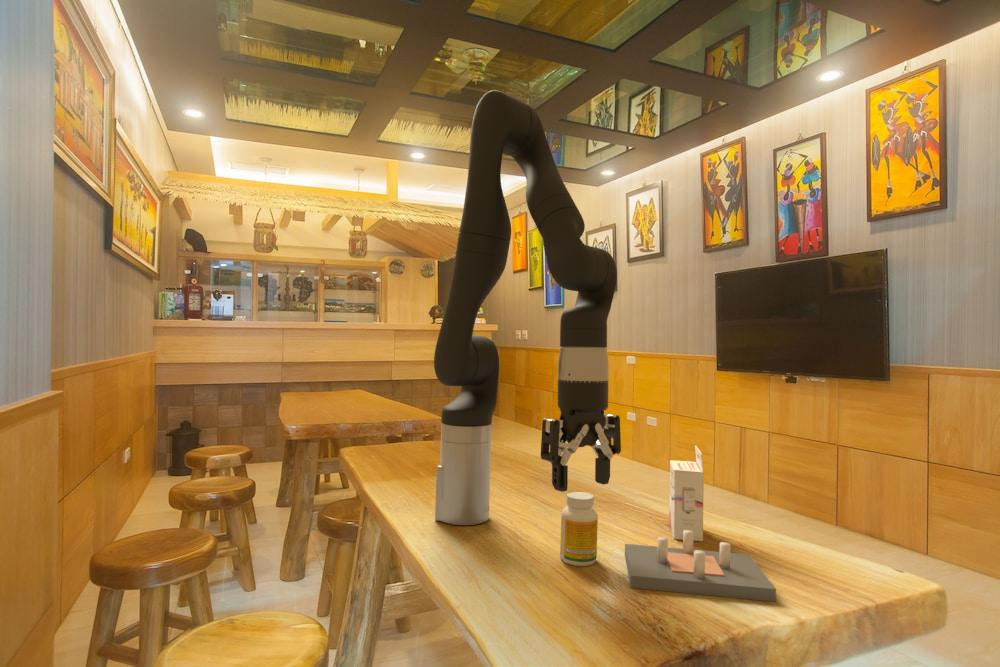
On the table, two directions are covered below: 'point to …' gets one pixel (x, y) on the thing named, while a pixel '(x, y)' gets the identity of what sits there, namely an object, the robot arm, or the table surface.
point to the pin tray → (696, 571)
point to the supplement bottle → (579, 530)
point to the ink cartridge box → (686, 497)
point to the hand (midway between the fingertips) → (581, 486)
